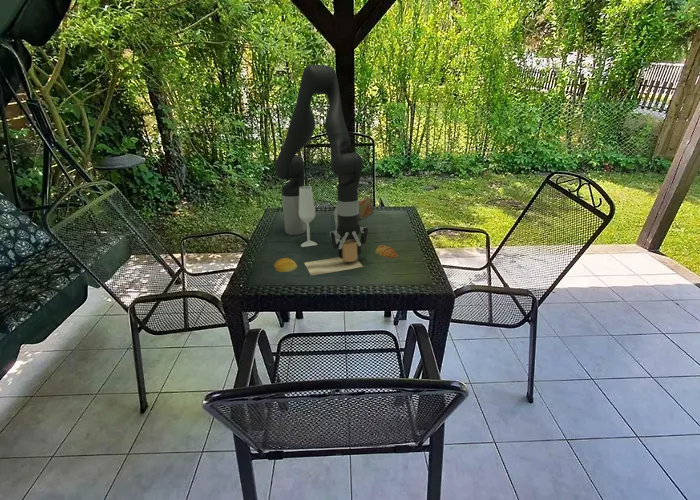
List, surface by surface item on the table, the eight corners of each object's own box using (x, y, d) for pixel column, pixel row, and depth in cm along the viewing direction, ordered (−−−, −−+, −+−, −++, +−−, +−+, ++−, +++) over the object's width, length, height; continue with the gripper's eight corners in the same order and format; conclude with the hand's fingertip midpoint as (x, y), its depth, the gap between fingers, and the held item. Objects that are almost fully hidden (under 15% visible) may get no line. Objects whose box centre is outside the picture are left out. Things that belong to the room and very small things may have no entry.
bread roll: (277, 278, 148) (276, 267, 147) (272, 267, 156) (271, 257, 154) (300, 273, 151) (300, 263, 149) (294, 263, 158) (293, 253, 157)
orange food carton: (357, 221, 199) (357, 204, 195) (352, 220, 200) (351, 203, 197) (374, 212, 210) (374, 196, 207) (368, 211, 212) (368, 195, 209)
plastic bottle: (349, 251, 167) (348, 202, 159) (332, 250, 168) (331, 201, 160) (352, 245, 173) (352, 197, 165) (336, 244, 174) (335, 197, 166)
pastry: (402, 259, 160) (403, 250, 159) (389, 264, 157) (389, 254, 155) (386, 251, 167) (386, 242, 166) (372, 256, 163) (372, 247, 162)
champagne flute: (297, 246, 173) (293, 188, 163) (306, 240, 178) (303, 184, 169) (311, 249, 170) (308, 190, 160) (320, 243, 175) (317, 186, 166)
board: (304, 266, 156) (303, 262, 155) (353, 258, 161) (353, 254, 161) (311, 279, 146) (311, 275, 146) (363, 270, 152) (363, 266, 151)
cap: (339, 256, 156) (338, 239, 153) (354, 253, 157) (353, 237, 155) (344, 262, 151) (343, 245, 148) (359, 260, 152) (359, 243, 150)
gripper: (363, 206, 152) (364, 249, 159) (325, 211, 148) (327, 255, 155) (371, 212, 146) (371, 257, 153) (331, 217, 142) (333, 263, 148)
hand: (349, 256), depth 154 cm, fingers closed on cap, 5 cm apart
